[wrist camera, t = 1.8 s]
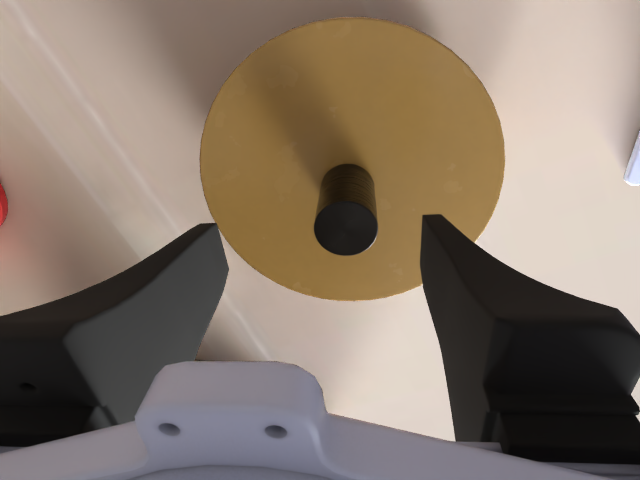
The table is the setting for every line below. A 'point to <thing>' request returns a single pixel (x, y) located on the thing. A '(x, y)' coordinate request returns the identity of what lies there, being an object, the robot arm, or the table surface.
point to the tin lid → (349, 155)
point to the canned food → (3, 205)
